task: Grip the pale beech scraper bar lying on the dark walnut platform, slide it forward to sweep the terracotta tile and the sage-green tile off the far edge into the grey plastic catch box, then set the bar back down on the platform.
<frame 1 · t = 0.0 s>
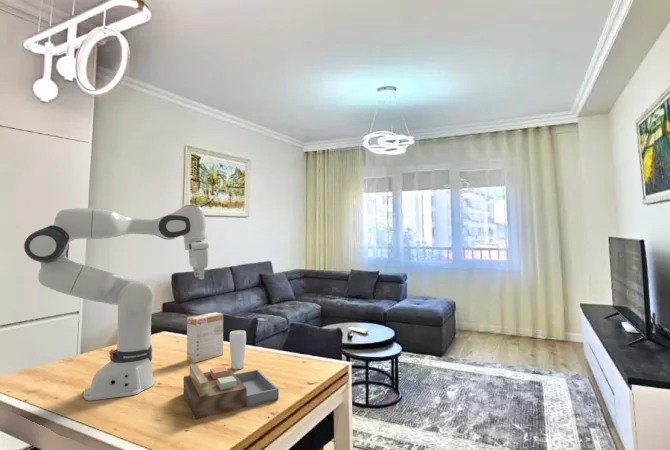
hand: (199, 278, 151), 39 cm above the table, tool pointing down, fingers open, 8 cm apart
scraper bar: (198, 385, 122), point 6 cm above the table, touching walnut platform
walnut platform: (213, 400, 125), on the table
drinking glass: (237, 368, 157), on the table
catch box: (252, 391, 132), on the table
sage tile: (226, 385, 122), point 6 cm above the table, touching walnut platform
coffeecake box: (205, 357, 171), on the table
terracotta tile: (219, 375, 131), point 6 cm above the table, touching walnut platform
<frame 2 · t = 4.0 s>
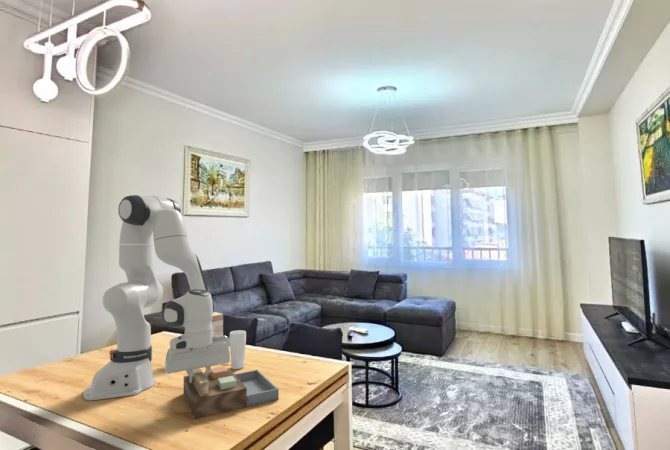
hand: (198, 381, 123), 7 cm above the table, tool pointing down, fingers closed on scraper bar, 2 cm apart
scraper bar: (198, 385, 122), point 6 cm above the table, touching gripper, walnut platform
everything else where it was.
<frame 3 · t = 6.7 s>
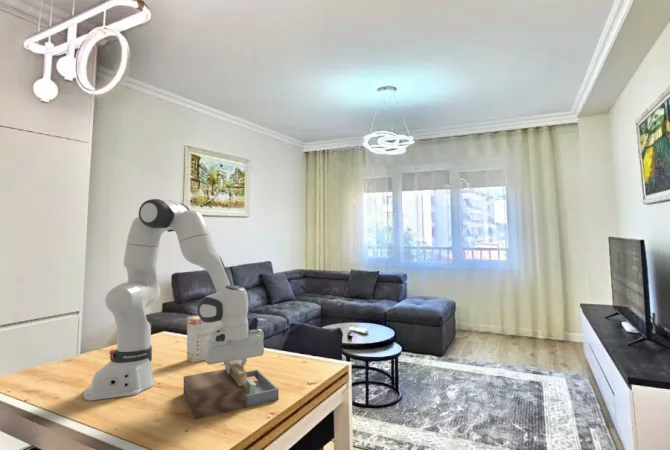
hand: (235, 372, 129), 8 cm above the table, tool pointing down, fingers closed on scraper bar, 2 cm apart
scraper bar: (235, 376, 129), point 7 cm above the table, touching gripper
sage tile: (247, 389, 125), point 3 cm above the table, tilted 102°, touching catch box
terracotta tile: (249, 379, 137), point 2 cm above the table, tilted 180°, touching catch box
everything else where it was.
when the fingers open (9 cm above the table, at t = 12.5 s): scraper bar drops 1 cm, resting on walnut platform.
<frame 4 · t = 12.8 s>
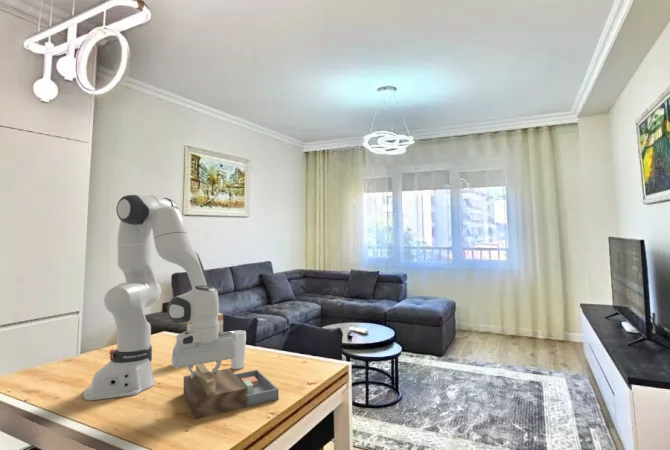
hand: (204, 375, 124), 9 cm above the table, tool pointing down, fingers open, 5 cm apart
scraper bar: (205, 383, 123), point 6 cm above the table, touching walnut platform
sage tile: (245, 391, 124), point 3 cm above the table, tilted 90°, touching catch box
everything else where it was.
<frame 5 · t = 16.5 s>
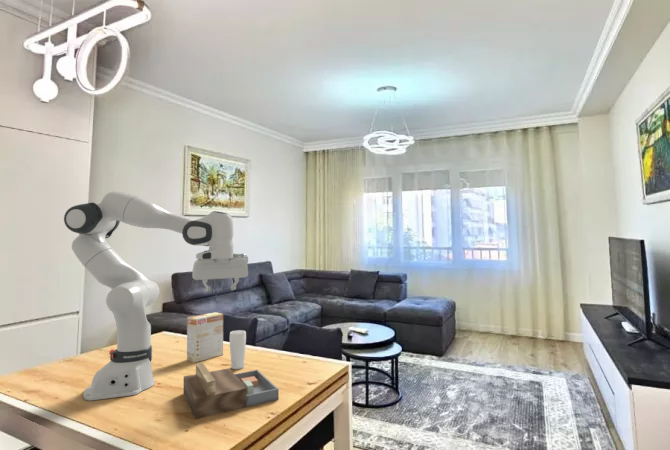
hand: (220, 290, 139), 35 cm above the table, tool pointing down, fingers open, 8 cm apart
nothing on the table moved.
at the end: terracotta tile inside the target area (5.4 cm from its centre), point 2.5 cm above the table; sage tile inside the target area (7.4 cm from its centre), point 3.0 cm above the table; scraper bar inside the target area (2.9 cm from its centre), point 6.0 cm above the table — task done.
